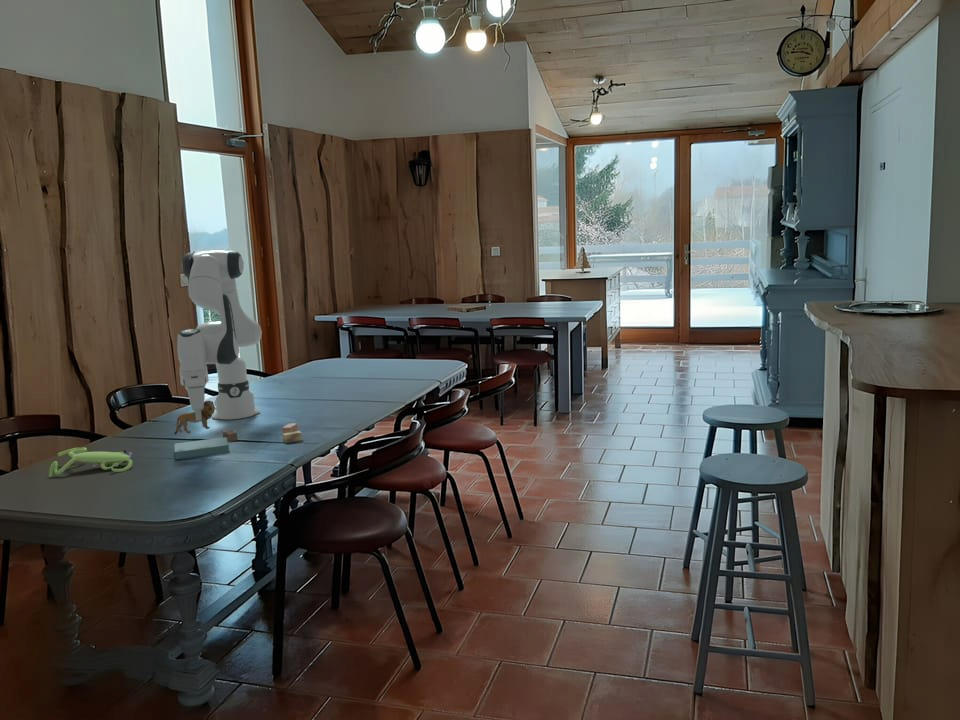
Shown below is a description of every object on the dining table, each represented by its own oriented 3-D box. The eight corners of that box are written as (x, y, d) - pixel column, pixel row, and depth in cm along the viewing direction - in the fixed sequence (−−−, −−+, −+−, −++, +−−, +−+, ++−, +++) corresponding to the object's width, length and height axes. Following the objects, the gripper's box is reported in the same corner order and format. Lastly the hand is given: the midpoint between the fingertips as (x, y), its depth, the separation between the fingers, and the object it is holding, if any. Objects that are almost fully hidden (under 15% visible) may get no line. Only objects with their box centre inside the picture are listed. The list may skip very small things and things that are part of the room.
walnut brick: (223, 439, 283) (222, 431, 282) (231, 437, 284) (230, 429, 284) (229, 442, 278) (228, 434, 277) (237, 440, 280) (236, 432, 279)
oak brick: (285, 443, 273) (285, 435, 272) (283, 441, 275) (282, 433, 275) (302, 440, 276) (301, 432, 275) (299, 438, 278) (299, 430, 278)
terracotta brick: (290, 431, 290) (289, 423, 289) (297, 431, 289) (297, 423, 289) (283, 435, 284) (282, 427, 284) (290, 435, 284) (289, 427, 283)
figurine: (65, 462, 262) (62, 446, 261) (147, 456, 264) (145, 440, 263) (39, 479, 244) (36, 461, 243) (127, 473, 246) (125, 456, 245)
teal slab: (175, 450, 269) (174, 443, 269) (227, 443, 275) (226, 436, 275) (175, 459, 258) (174, 452, 258) (229, 452, 264) (228, 444, 264)
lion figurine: (217, 422, 270) (211, 397, 268) (220, 425, 266) (214, 400, 264) (173, 434, 264) (166, 409, 262) (175, 438, 259) (169, 412, 257)
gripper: (183, 374, 271) (188, 413, 273) (184, 383, 252) (189, 425, 254) (203, 372, 273) (207, 411, 275) (205, 381, 254) (209, 423, 256)
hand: (198, 418), depth 264 cm, fingers closed on lion figurine, 4 cm apart
